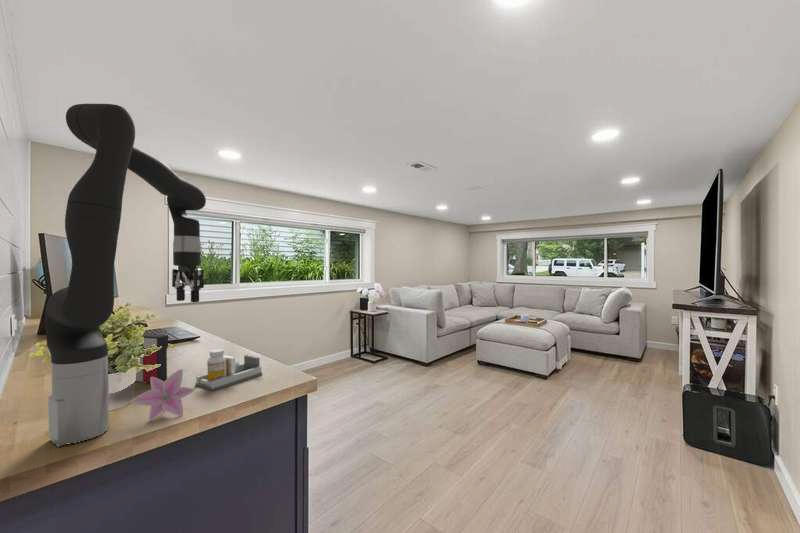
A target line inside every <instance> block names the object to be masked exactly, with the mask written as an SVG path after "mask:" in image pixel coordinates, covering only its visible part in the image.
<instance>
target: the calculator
mask: <svg viewBox="0 0 800 533" xmlns="http://www.w3.org/2000/svg"><path fill="white" fill-rule="evenodd" d="M153 344H155V345H157V346H158V347H160V346H162V348H161V349H160V350H158V351H156V352H154V353H152V354H151V355H149V356H144V357H142V358H140V364H142V365H155V364H161V366H160V367H158V368H155V369H153V370H150V371H148V372H147V371H146V370H145V369H141V370H140V371H139V372H137V373H136V382H137V383H143V382H146V383H145V384H151V383H150V378H151V377H155V378H158V379H160V380H162V381H164V382H165V380H166V379H167V378H168V367H167V365H168V358H167V355H168V354H167V353H168V348H169V335H168V334H157V333H144V343H143V347H144V348H148V347H151V346H152V345H153Z"/></svg>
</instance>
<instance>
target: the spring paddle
mask: <svg viewBox="0 0 800 533" xmlns="http://www.w3.org/2000/svg"><path fill="white" fill-rule="evenodd" d="M223 356H225V357H226V359H227V376H230V375H233V374H235V370H236V369H239V367H240V364H241V363H240V362H239V361H236V357H233V356H230V355H225V354H224V355H223Z"/></svg>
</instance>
